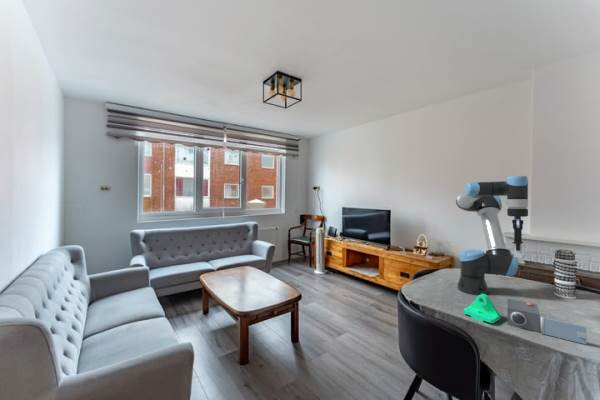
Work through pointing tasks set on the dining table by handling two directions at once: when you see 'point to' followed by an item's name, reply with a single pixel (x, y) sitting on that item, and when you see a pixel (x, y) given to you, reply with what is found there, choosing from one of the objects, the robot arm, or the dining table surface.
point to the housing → (523, 315)
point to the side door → (563, 330)
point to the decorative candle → (565, 274)
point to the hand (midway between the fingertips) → (518, 256)
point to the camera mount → (483, 309)
